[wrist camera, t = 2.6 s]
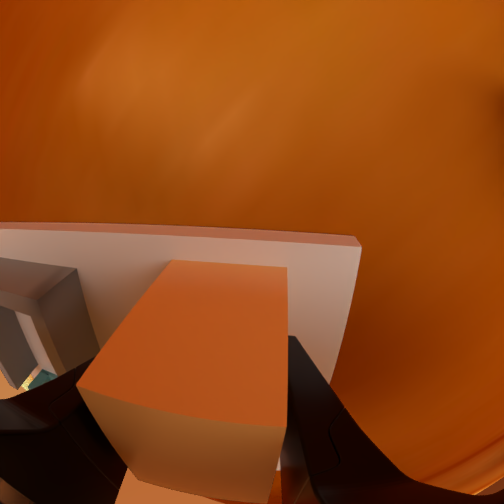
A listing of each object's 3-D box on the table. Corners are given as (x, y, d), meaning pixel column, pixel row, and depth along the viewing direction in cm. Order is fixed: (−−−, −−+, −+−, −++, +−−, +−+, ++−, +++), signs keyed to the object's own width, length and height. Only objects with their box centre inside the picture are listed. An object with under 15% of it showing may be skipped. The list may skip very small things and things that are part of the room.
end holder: (117, 393, 12) (98, 428, 10) (30, 361, 13) (9, 385, 11) (76, 268, 10) (37, 300, 7) (-10, 255, 10) (-42, 275, 8)
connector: (266, 450, 13) (256, 536, 8) (201, 443, 13) (179, 525, 8) (287, 267, 9) (286, 427, 4) (172, 259, 9) (75, 384, 4)
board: (298, 458, 15) (298, 470, 14) (62, 407, 16) (56, 415, 15) (354, 235, 9) (362, 246, 8) (-12, 222, 11) (-24, 228, 10)
